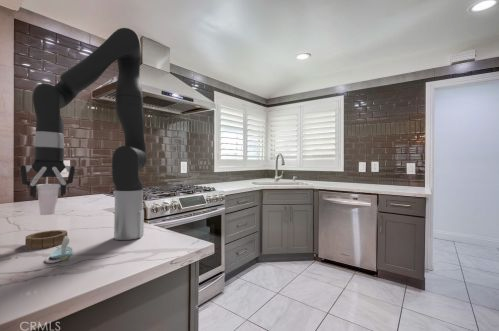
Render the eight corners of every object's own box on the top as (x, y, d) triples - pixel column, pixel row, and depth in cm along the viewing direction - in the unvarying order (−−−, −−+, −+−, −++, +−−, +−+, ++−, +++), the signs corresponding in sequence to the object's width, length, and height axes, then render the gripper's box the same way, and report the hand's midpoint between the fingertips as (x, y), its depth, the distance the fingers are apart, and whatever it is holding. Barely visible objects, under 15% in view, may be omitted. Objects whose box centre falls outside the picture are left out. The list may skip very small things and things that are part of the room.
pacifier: (43, 267, 61) (72, 261, 65) (42, 242, 61) (72, 238, 65) (46, 258, 67) (72, 253, 71) (45, 236, 67) (72, 232, 70)
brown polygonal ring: (72, 237, 85) (72, 229, 85) (56, 247, 74) (56, 238, 74) (38, 239, 82) (38, 231, 82) (16, 250, 72) (17, 240, 72)
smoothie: (44, 211, 81) (46, 171, 81) (64, 212, 82) (65, 171, 82) (29, 215, 75) (30, 171, 75) (50, 215, 76) (51, 172, 76)
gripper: (74, 148, 86) (73, 194, 86) (19, 145, 76) (18, 197, 76) (77, 147, 81) (76, 196, 81) (19, 144, 71) (17, 199, 71)
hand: (48, 196), depth 79 cm, fingers closed on smoothie, 6 cm apart
